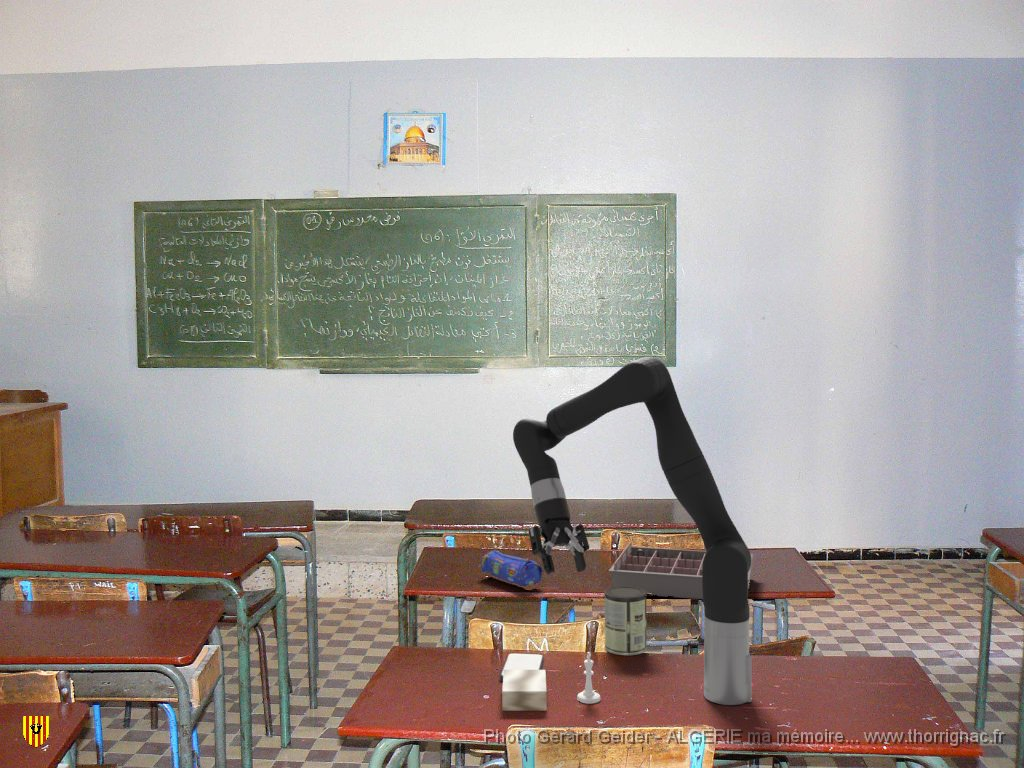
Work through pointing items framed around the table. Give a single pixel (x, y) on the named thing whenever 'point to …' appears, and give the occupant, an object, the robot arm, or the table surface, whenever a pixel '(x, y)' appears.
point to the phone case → (522, 662)
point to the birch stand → (524, 690)
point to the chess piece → (588, 685)
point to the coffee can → (625, 620)
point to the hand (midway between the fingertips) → (566, 572)
